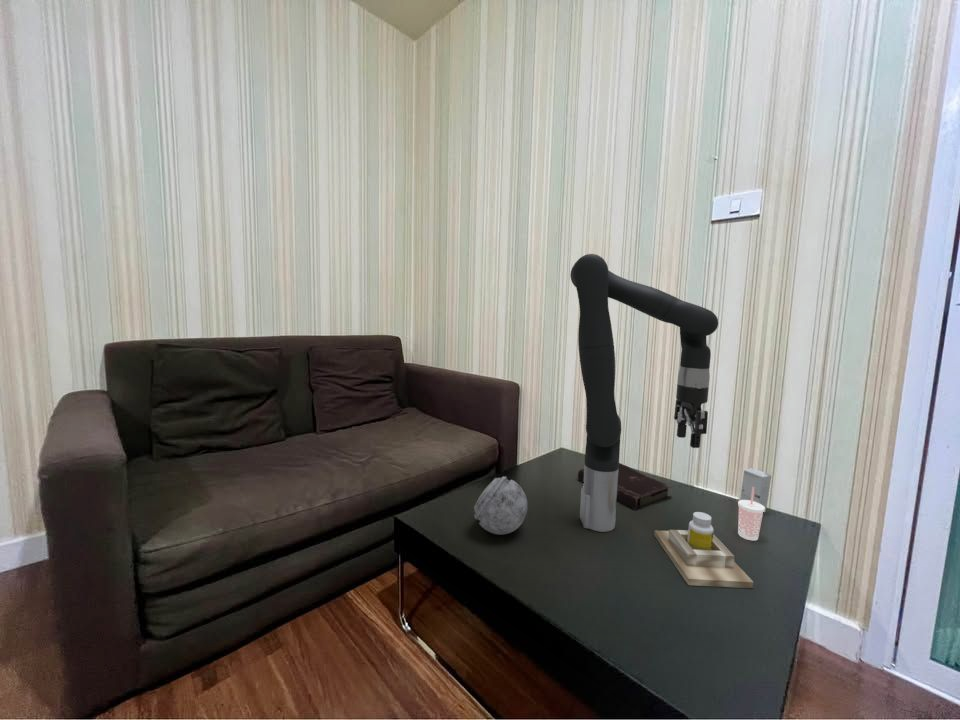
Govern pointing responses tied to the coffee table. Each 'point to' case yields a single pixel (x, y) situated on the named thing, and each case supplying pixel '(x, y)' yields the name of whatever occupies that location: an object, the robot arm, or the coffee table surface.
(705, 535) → the supplement bottle
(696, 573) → the socket board
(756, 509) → the beverage cup
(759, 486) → the skincare box
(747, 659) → the coffee table surface
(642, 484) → the diary
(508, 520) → the decorative orb
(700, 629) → the coffee table surface
